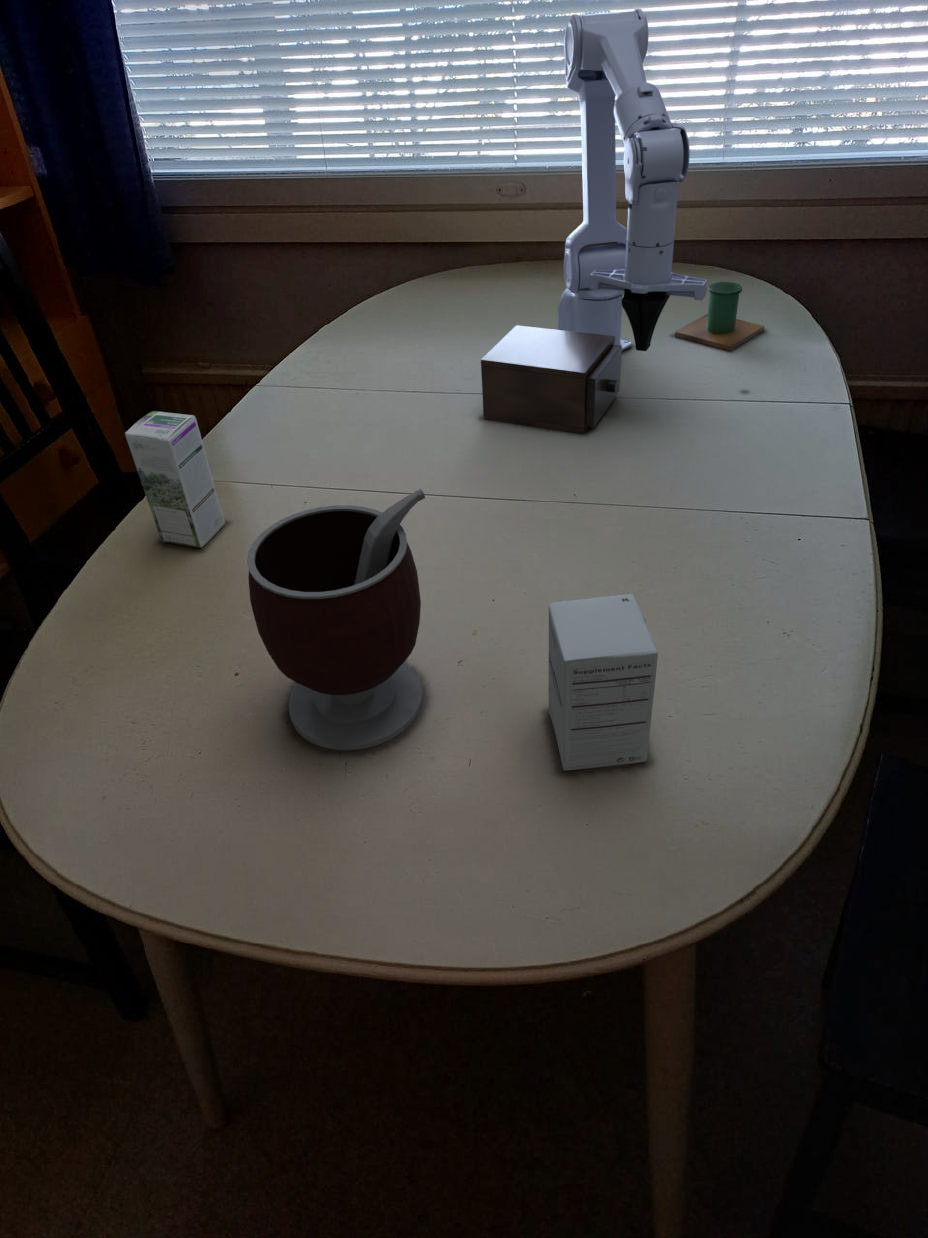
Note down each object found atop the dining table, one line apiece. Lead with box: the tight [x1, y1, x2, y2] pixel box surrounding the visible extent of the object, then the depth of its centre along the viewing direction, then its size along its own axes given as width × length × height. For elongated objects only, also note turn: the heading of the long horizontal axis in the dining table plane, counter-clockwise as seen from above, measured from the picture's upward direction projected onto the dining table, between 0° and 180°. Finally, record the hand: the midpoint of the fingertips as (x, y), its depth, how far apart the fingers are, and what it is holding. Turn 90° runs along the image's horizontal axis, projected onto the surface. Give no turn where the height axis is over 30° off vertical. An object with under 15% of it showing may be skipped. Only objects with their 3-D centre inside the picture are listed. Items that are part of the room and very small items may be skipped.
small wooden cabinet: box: [480, 324, 615, 435], centre depth 124 cm, size 15×13×9 cm
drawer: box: [586, 344, 623, 428], centre depth 123 cm, size 15×11×7 cm
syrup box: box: [124, 410, 226, 549], centre depth 102 cm, size 6×6×14 cm
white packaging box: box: [548, 593, 659, 771], centre depth 73 cm, size 7×7×13 cm
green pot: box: [706, 281, 743, 334], centre depth 140 cm, size 5×5×6 cm
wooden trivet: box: [674, 313, 765, 352], centre depth 143 cm, size 10×10×1 cm
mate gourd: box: [246, 488, 426, 751], centre depth 77 cm, size 16×14×20 cm
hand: (642, 347), depth 118 cm, fingers closed
